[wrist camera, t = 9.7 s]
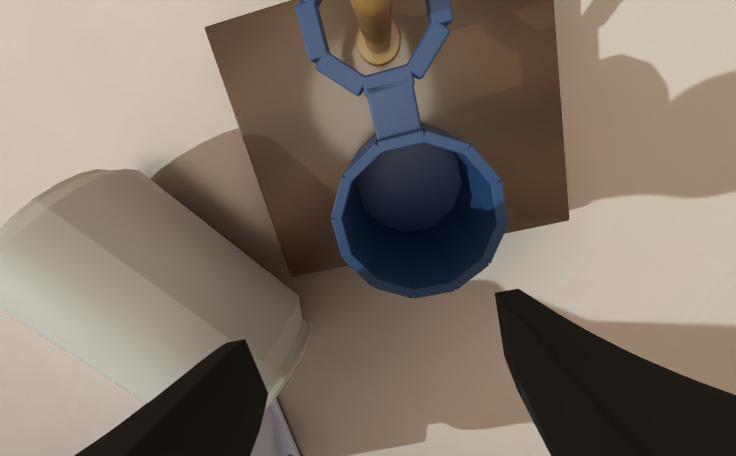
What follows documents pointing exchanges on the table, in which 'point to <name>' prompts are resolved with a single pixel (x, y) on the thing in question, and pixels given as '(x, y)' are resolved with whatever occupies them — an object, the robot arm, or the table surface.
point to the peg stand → (433, 94)
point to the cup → (409, 177)
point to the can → (142, 285)
